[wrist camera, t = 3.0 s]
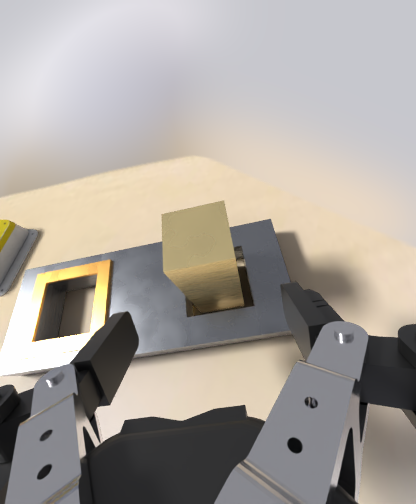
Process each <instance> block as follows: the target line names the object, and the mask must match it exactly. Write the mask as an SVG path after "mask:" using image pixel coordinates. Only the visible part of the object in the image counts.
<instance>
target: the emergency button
mask: <svg viewBox="0 0 416 504" xmlns="http://www.w3.org/2000/svg"><path fill="white" fill-rule="evenodd" d="M37 236H38V231H37V230H34V229H25V228H23V227H21V226H19V225H17V224H15V223H13V222H11V221H9V220H0V296H3V295H4V294H6V293H7V291H8V290H9V289H10V287H11V285H12V283H13V281H14V279H15V277H16V275H17V274H18V272H19V270H20V268H21V266H22V264H23V262H24V260H25V259H26V257H27V255H28V253H29V251H30V249H31V247H32V245H33V244H34V242H35V240H36V238H37Z"/></svg>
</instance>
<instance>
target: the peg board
mask: <svg viewBox="0 0 416 504" xmlns="http://www.w3.org/2000/svg"><path fill="white" fill-rule="evenodd" d="M230 233H231V238H232V243H233V248H234V253H235V258H236V259H238V258H243V260H244V265H245V269H246V274H247V278H248V283H249V287H250V292H251V296H252V301H253V305H254V306H251V307H246V308H240V309H234V310H228V311H222V312H216V313H210V314H204V315H198V316H193V305H192V302H191V301H190V300H189V299H188V298H187V297H186V296H185V295H184V294H183V293H182V292H181V290H180V289H179V288H178V287H177V286H176V285H175V284H174V283H173V282H172V281H171V280H170V279H169V278H168V277H167V276H166V275H165V273H164V272H163V247H162V242H158V243H153V244H148V245H143V246H139V247H134V248H129V249H124V250H119V251H115V252H110V253H105V254H100V255H96V256H91V257H86V258H81V259H76V260H72V261H67V262H62V263H57V264H52V265H48V266H43V267H38V268H33V269H28V270H26V271H25V274H24V277H23V281H22V284H21V288H20V291H19V294H18V298H17V301H16V304H15V308H14V311H13V315H12V318H11V321H10V325H9V328H8V331H7V335H6V338H5V342H4V345H3V348H2V352H1V355H0V376H22V375H29V374H35V373H42V372H48V371H50V370H52V369H54V368H56V367H58V366H60V365H64V364H69V363H70V362H71V360H72V359H73V358H74V357H75V356H76V354H77V353H78V352H79V351H80V350H81V348H82V347H83V346H85V344H86V342H87V341H88V340H90V337H91V336H92V335H93V334H94V333H95V331H97V330H98V329H99V328H101V327H102V326H103V325H104V324H105V323H106V322H107V320H108V319H109V318H110V317H111V315H112V314H114V313H120V312H125V311H128V312H129V313H130V314H131V317H132V320H133V322H134V325H135V328H136V331H137V334H138V337H139V346H138V349H137V351H136V353H135V355H134V357H133V359H134V358H140V357H147V356H153V355H160V354H166V353H173V352H179V351H186V350H193V349H199V348H206V347H212V346H219V345H225V344H232V343H238V342H245V341H252V340H258V339H265V338H271V337H278V336H284V335H291V334H292V333H291V331H290V329H289V327H288V324H287V322H286V319H285V315H284V309H283V302H282V295H281V288H280V285H281V284H284V283H290V278H289V275H288V272H287V269H286V266H285V263H284V259H283V256H282V253H281V250H280V247H279V244H278V241H277V237H276V234H275V231H274V228H273V225H272V222H271V219H268V220H263V221H258V222H254V223H249V224H244V225H239V226H235V227H230ZM93 286H96V290H95V298H94V306H93V314H92V322H91V330H90V333H86V334H80V335H74V336H69V337H63V338H58V332H59V327H60V322H61V317H62V311H63V306H64V301H65V296H66V292H67V291H72V290H77V289H82V288H88V287H93Z"/></svg>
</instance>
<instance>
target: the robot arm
mask: <svg viewBox="0 0 416 504" xmlns="http://www.w3.org/2000/svg"><path fill="white" fill-rule="evenodd" d="M280 288H281V295H282V302H283V309H284V315H285V319H286V322H287V324H288V327H289V329H290V331H291V333H292V335H293V337H294V339H295V341H296V343H297V345H298V347H299V349H300V351H301V353H302V355H303V357H304V359H305V361H306V362H305V361H301V360H298V361H297V362H296V364H295V365H294V367H293V369H292V371H291V373H290V375H289V377H288V379H287V381H286V383H285V385H284V387H283V389H282V391H281V392H280V394H279V396H278V398H277V400H276V402H275V404H274V406H273V408H272V410H271V412H270V414H269V416H268V418H267V420H266V422H265V421H263V420H261V419H257V418H254V417H248V416H247V412H246V407H245V405H241V406H233V407H225V408H217V409H213V410H210V411H207V412H205V413H202V414H200V415H197V416H194V417H192V418H189V419H187V420H184V421H177V420H171V419H165V418H159V417H146V418H138V419H130V420H125V421H124V424H123V426H122V429H121V432H120V433H118V434H116V435H114V436H112V437H110V438H108V439H107V440H105V441H104V442H103V438H102V434H101V429H100V425H99V420H98V416H97V414H96V412H95V411H96V409H97V407H100V406H107V405H110V404H111V402H112V400H113V398H114V396H115V394H116V392H117V390H118V388H119V386H120V384H121V382H122V380H123V378H124V375H125V373H126V371H127V369H128V367H129V365H130V363H131V361H132V359H133V357H134V355H135V353H136V351H137V349H138V346H139V337H138V334H137V331H136V328H135V325H134V322H133V320H132V317H131V314H130V313H129V312H128V311H125V312H120V313H114V314H112V315H111V317H110V318H109V319H108V320H107V322H106V323H105V324H104V325H103V326H102V327H101V328H99V329H98V330H97V331H95V333H94V334H93V335H92V336H91V337H90V340H88V341H87V342H86V344H85V346H83V347H82V348H81V350H80V351H79V352H78V353H77V354H76V356H75V357H74V358H73V359H72V360H71V362H70V363H69V364H64V365H60V366H58V367H56V368H54V369H52V370H50V371H49V372H47V373H46V374H45V375H43V376H42V377H41V378H40V379H39V380H38V381H37V383H36V384H35V386H34V388H33V389H30V390H27V391H25V392H22V393H19V394H18V393H17V391H16V389H15V387H14V386H13V385H5V386H2V387H0V504H358V497H359V490H360V481H361V467H362V453H363V446H364V440H365V433H366V427H367V420H368V414H369V408H370V404H376V405H382V406H388V407H394V408H400V409H402V411H403V412H404V413H405V415H406V416H407V418H408V419H409V420H410V422H411V423H412V424H413V426H414V427H415V428H416V324H411V325H406V326H403V327H401V328H400V329H399V331H398V338H394V337H378V336H370V335H368V334H367V332H366V331H365V330H364V329H363V328H362V327H360V326H358V325H356V324H353V323H350V322H344V320H343V319H342V318H341V317H340V316H339V315H338V314H337V313H336V312H335V311H334V310H333V308H332V307H331V306H329V304H328V303H327V302H326V301H324V299H323V298H322V296H321V295H320V294H319V293H317V292H315V291H313V290H310V289H308V290H303V289H302V288H301V287H300V286H299V284H298V283H297V282H296V281H295V282H290V283H284V284H281V285H280Z"/></svg>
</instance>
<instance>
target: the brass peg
mask: <svg viewBox="0 0 416 504" xmlns="http://www.w3.org/2000/svg"><path fill="white" fill-rule="evenodd" d="M162 247H163V272H164V273H165V275H166V276H167V277H168V278H169V279H170V280H171V281H172V282H173V283H174V284H175V285H176V286H177V287H178V288H179V289H180V290H181V292H182V293H183V294H184V295H185V296H186V297H187V298H188V299H189V300H190V301H191V302H192V303H193V304H194V305H195V306H196V307H197V309H198V310H199V311H200V312H201V313H205V312H211V311H217V310H222V309H228V308H234V307H240V306H244V301H243V295H242V290H241V285H240V279H239V274H238V269H237V263H236V258H235V253H234V248H233V243H232V238H231V233H230V228H229V223H228V218H227V213H226V208H225V204H224V201H220V202H215V203H211V204H206V205H202V206H197V207H193V208H188V209H184V210H179V211H175V212H170V213H166V214H162Z"/></svg>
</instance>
